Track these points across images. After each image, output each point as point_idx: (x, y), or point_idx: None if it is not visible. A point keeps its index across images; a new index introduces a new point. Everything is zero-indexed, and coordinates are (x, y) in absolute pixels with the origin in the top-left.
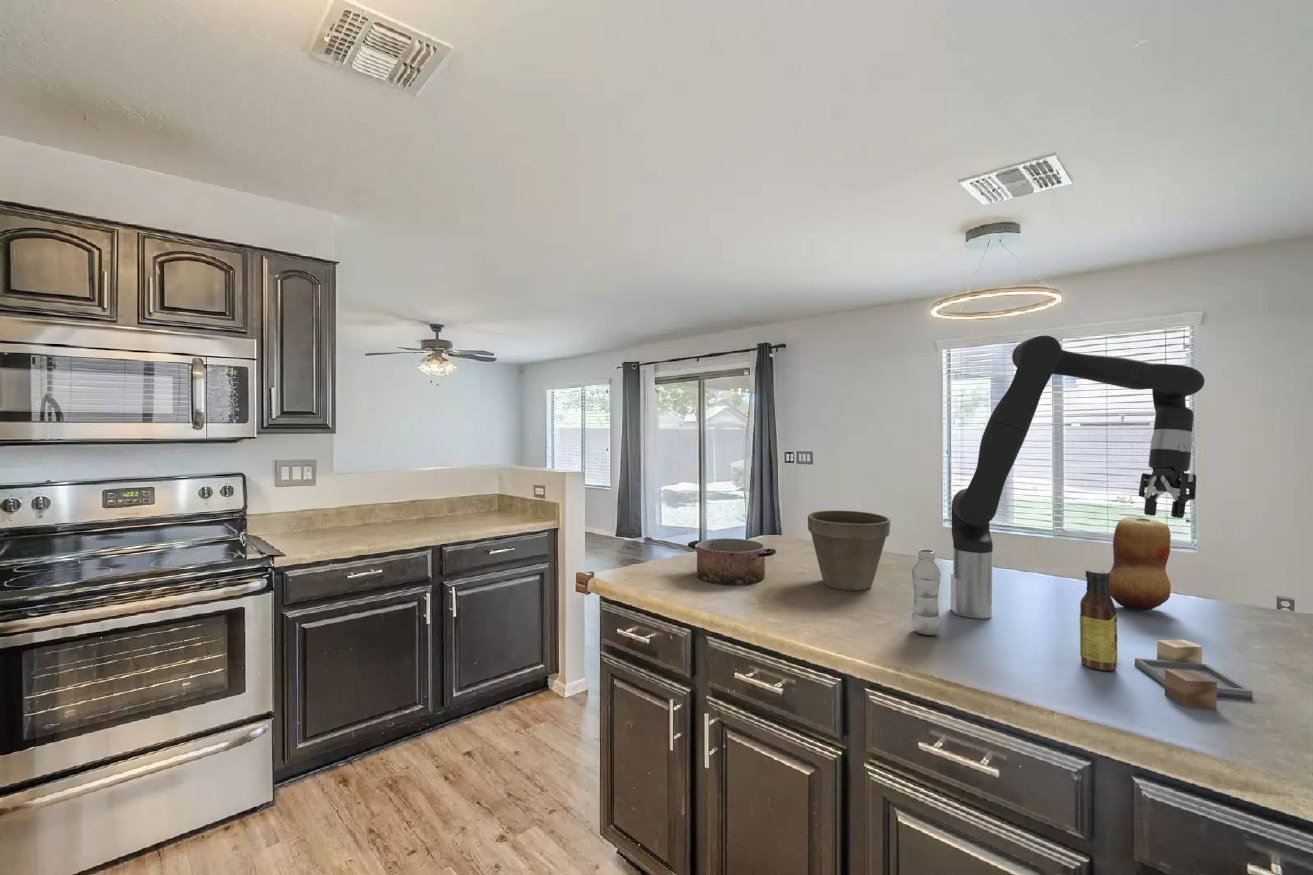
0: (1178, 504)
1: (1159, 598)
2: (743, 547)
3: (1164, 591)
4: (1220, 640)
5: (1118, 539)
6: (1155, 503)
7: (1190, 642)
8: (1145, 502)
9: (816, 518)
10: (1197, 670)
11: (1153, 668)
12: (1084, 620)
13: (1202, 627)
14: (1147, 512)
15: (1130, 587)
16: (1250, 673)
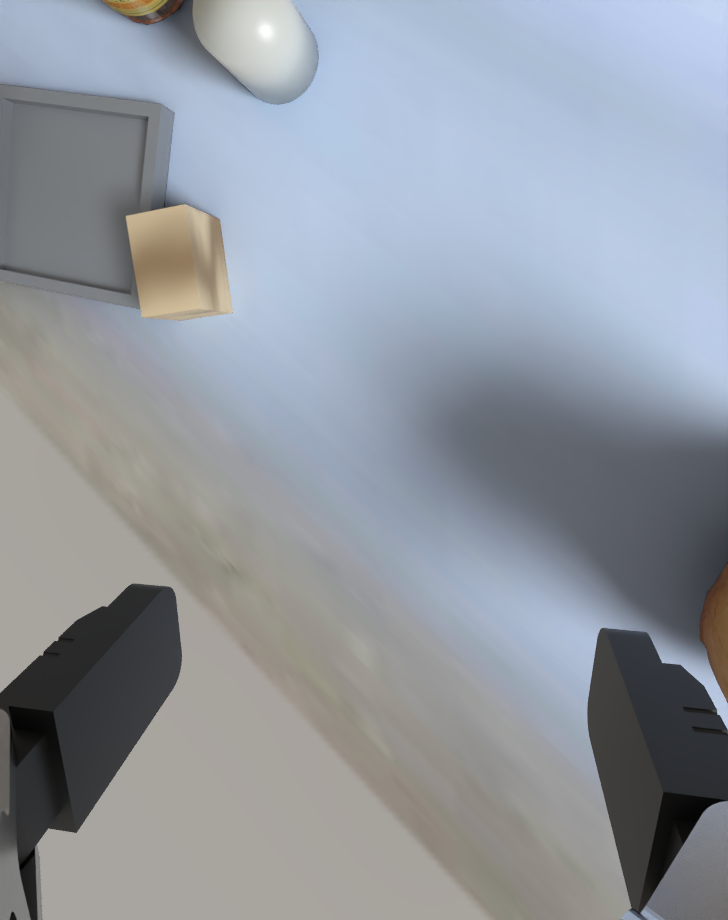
0: (9, 692)
1: (700, 629)
2: None
3: (716, 673)
4: (413, 590)
5: None
6: (627, 860)
7: (174, 309)
8: (699, 752)
9: None
10: (129, 268)
11: (87, 107)
12: None
13: (550, 654)
14: (604, 649)
15: None
16: (154, 427)
